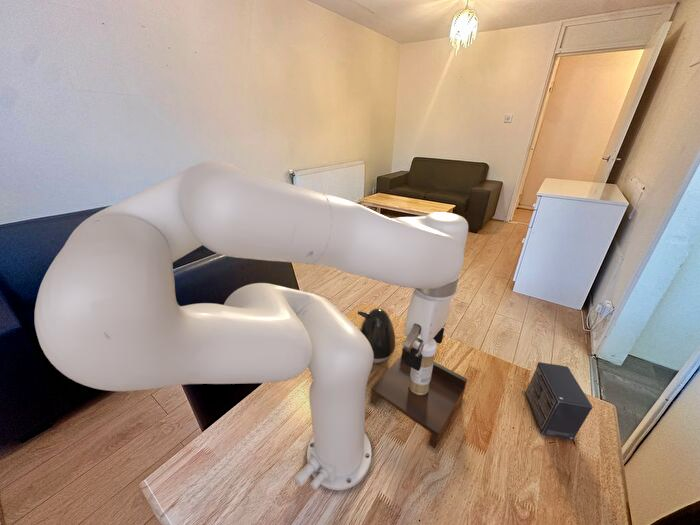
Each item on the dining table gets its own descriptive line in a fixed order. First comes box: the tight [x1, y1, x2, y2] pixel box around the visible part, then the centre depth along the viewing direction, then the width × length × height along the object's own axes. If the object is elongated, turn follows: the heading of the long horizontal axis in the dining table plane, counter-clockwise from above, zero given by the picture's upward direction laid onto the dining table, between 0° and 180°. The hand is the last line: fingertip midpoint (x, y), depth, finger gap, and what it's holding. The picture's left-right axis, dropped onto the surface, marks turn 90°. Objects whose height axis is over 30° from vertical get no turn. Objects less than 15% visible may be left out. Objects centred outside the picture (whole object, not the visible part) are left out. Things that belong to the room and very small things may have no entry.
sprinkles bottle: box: [409, 335, 438, 395], centre depth 61 cm, size 5×5×14 cm
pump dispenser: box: [357, 308, 396, 364], centre depth 76 cm, size 10×10×15 cm
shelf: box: [370, 346, 468, 450], centre depth 64 cm, size 14×16×8 cm
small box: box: [524, 361, 594, 441], centre depth 61 cm, size 11×6×10 cm, turn 168°
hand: (423, 352), depth 59 cm, fingers open, 9 cm apart
